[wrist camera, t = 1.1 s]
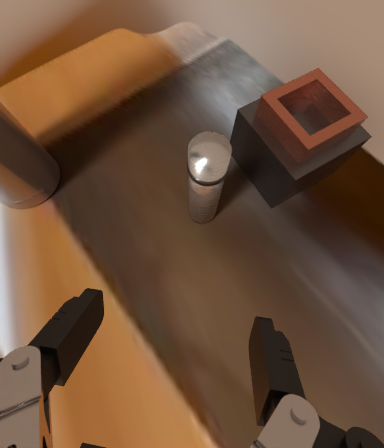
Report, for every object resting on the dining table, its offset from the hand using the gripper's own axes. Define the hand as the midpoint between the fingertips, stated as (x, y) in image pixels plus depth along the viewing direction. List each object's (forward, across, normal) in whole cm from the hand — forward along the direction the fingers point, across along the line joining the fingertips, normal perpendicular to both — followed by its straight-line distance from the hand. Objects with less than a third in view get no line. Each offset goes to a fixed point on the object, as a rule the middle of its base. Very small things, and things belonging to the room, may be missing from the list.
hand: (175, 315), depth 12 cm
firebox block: (+28, -10, -5) cm, 30 cm away
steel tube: (+22, 0, +2) cm, 22 cm away
